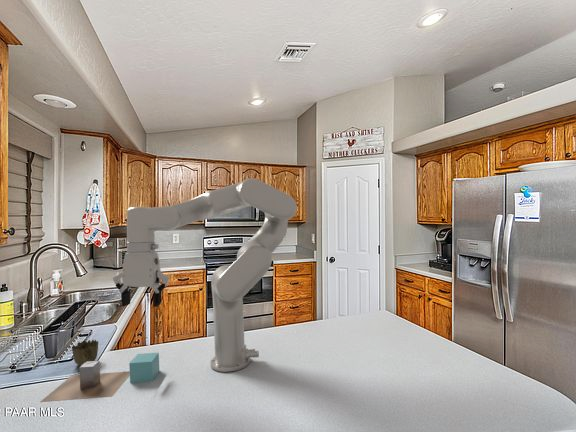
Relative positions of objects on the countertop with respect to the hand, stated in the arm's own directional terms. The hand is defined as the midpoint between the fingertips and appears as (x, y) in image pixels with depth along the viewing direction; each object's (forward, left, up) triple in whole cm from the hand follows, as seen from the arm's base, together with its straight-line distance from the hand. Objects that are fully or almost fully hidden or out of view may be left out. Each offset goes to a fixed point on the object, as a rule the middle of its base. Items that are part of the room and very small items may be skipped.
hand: (141, 305), depth 98 cm
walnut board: (+13, +4, -22) cm, 26 cm away
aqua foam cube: (-1, +1, -22) cm, 22 cm away
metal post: (+13, +4, -21) cm, 25 cm away
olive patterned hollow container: (+22, -11, -22) cm, 33 cm away
